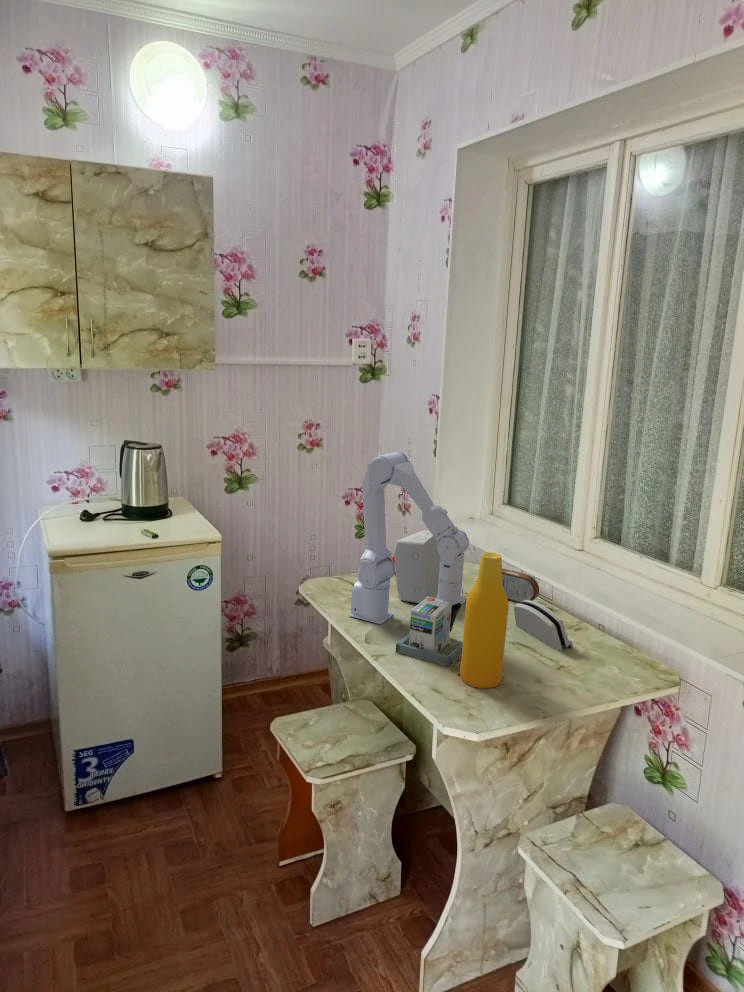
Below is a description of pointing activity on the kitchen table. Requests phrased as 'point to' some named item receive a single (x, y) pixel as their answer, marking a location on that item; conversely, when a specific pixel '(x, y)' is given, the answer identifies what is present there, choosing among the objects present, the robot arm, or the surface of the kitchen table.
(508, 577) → the tin
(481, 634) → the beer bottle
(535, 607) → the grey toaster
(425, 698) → the kitchen table surface
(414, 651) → the bay
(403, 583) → the electrical switch box
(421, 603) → the light bulb box
